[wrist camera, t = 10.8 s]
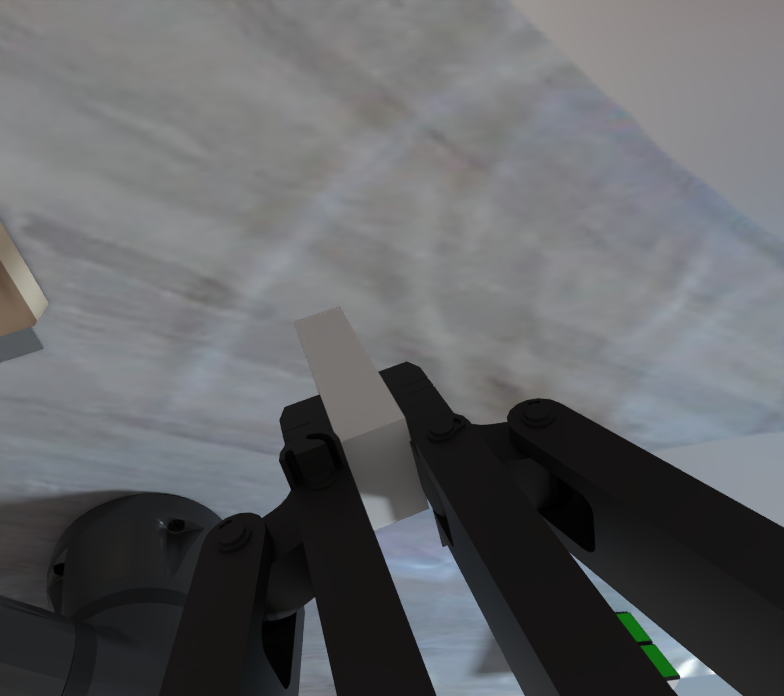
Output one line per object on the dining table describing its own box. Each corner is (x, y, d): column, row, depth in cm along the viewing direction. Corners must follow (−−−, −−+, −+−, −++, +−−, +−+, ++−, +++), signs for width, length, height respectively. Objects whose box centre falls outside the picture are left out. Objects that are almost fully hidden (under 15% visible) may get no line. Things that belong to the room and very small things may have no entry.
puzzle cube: (545, 667, 79) (587, 741, 70) (572, 614, 75) (620, 685, 66) (602, 661, 82) (649, 730, 74) (630, 610, 79) (683, 677, 70)
